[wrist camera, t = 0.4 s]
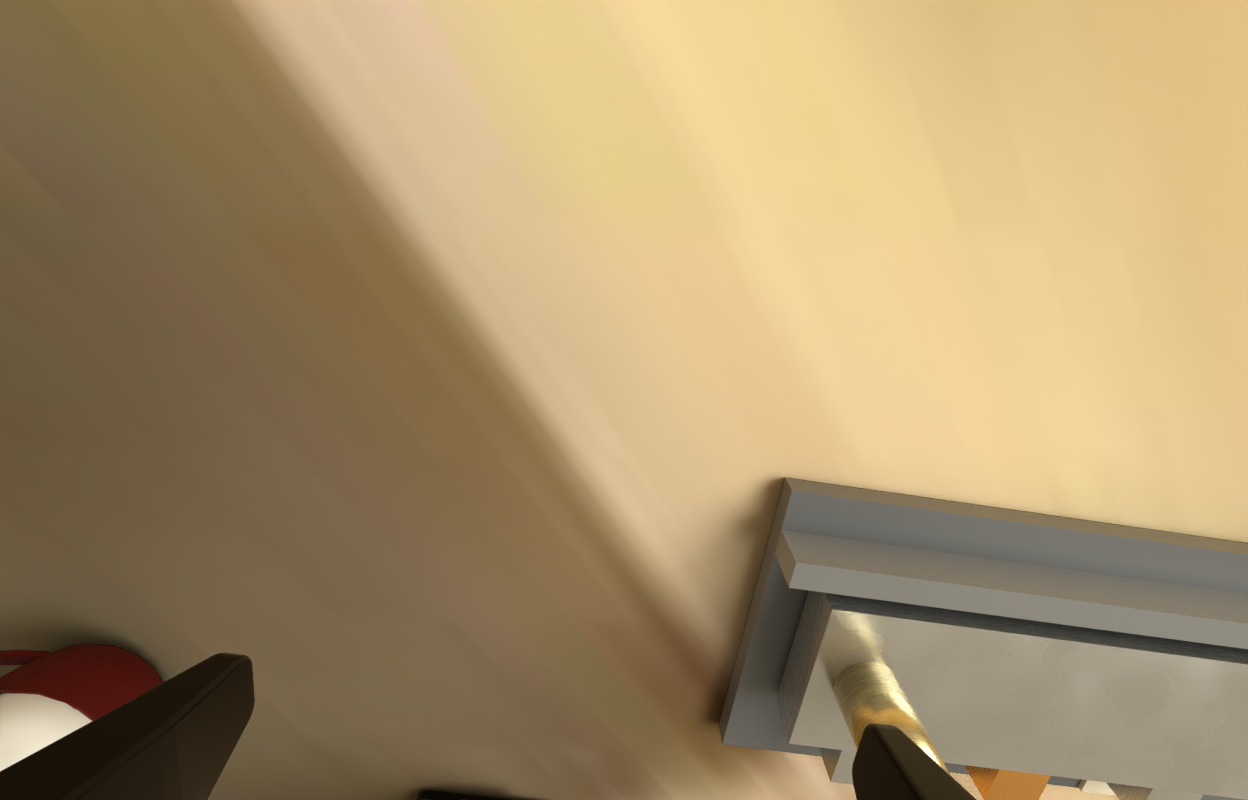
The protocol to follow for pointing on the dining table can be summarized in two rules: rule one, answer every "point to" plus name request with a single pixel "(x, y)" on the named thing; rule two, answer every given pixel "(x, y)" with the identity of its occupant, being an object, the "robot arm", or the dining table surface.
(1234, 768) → the toothed rack
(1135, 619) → the guide plate
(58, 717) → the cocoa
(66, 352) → the dining table surface
